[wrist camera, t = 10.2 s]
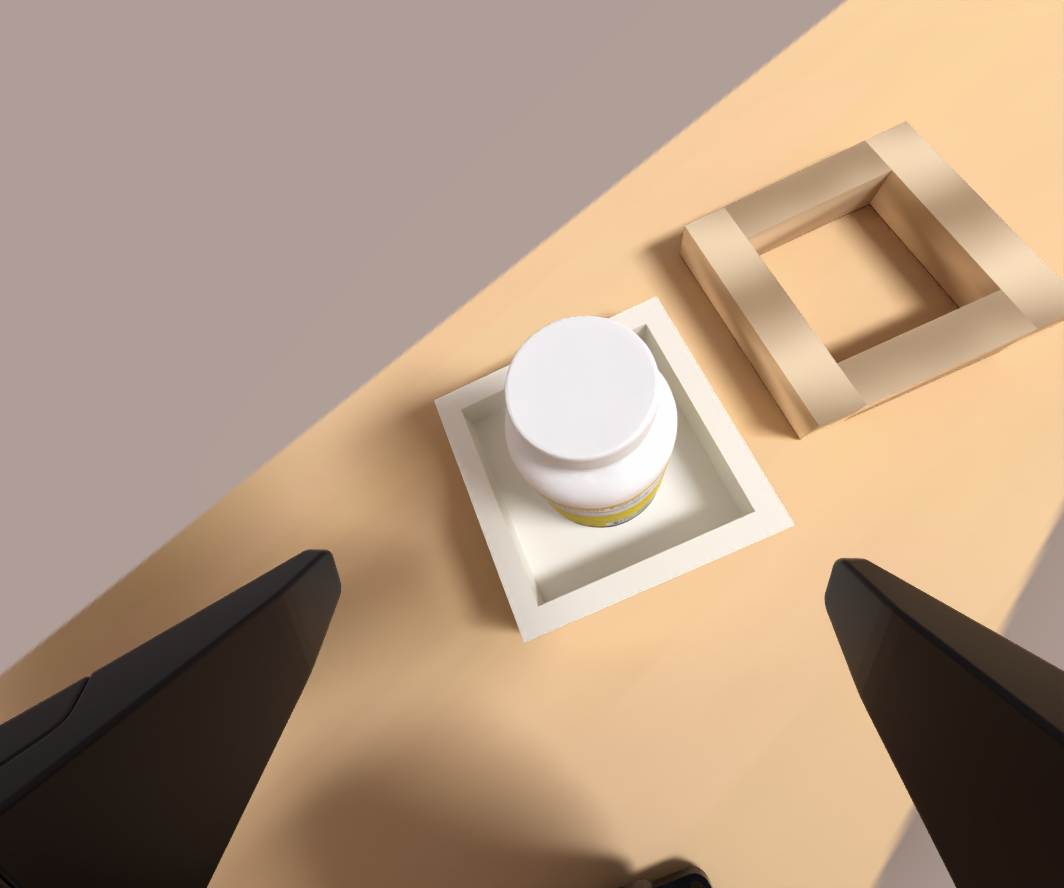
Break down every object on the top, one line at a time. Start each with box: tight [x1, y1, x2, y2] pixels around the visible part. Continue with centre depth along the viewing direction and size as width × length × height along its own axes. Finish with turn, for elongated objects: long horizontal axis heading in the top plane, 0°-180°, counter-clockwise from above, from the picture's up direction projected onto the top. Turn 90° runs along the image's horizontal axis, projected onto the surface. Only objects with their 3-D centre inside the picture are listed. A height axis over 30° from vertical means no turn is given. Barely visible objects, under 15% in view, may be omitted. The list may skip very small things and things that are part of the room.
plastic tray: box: [434, 296, 795, 643], centre depth 21 cm, size 11×11×2 cm
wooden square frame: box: [680, 121, 1064, 440], centre depth 21 cm, size 11×11×2 cm
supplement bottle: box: [504, 316, 677, 528], centre depth 17 cm, size 5×5×10 cm
